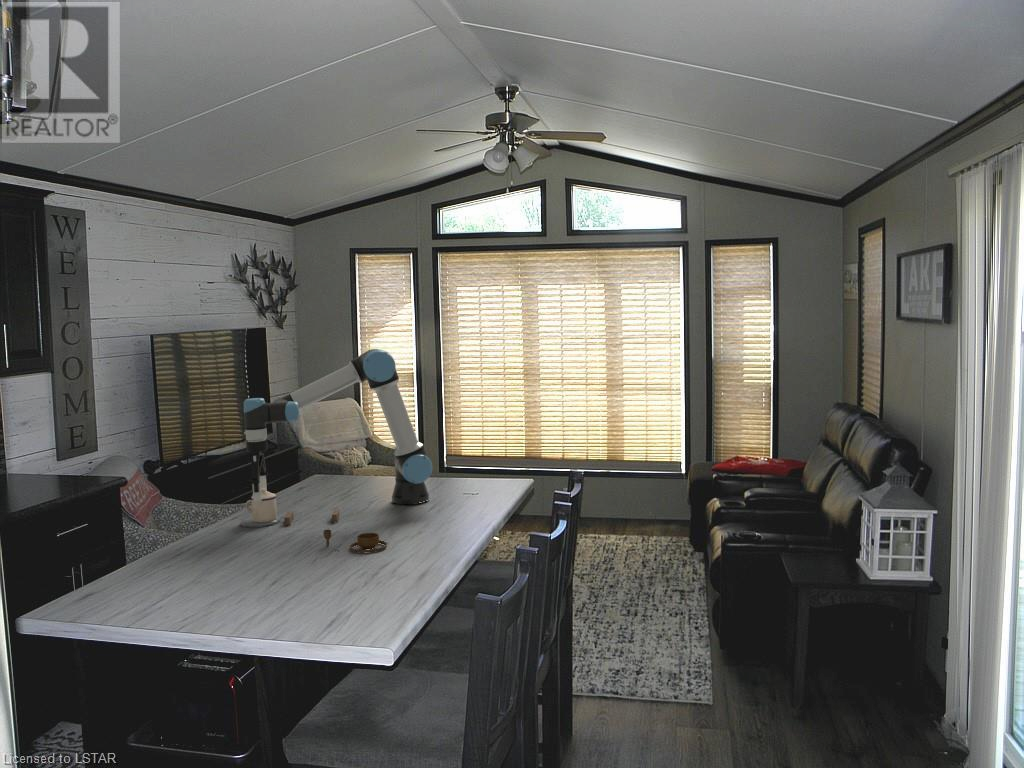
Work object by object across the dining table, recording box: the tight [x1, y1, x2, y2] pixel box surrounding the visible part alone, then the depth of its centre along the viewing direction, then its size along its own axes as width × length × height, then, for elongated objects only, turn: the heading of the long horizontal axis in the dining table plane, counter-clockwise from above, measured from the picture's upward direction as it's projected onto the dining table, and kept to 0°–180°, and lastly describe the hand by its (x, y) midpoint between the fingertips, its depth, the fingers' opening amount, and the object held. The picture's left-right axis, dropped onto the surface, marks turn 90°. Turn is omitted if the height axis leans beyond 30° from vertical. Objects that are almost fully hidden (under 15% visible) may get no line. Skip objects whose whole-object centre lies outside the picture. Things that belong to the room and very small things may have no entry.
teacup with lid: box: [245, 489, 278, 522], centre depth 310 cm, size 12×9×12 cm
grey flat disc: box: [240, 516, 281, 528], centre depth 310 cm, size 14×14×1 cm
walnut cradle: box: [284, 507, 340, 526], centre depth 311 cm, size 19×10×3 cm, turn 98°
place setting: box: [323, 529, 388, 554], centre depth 275 cm, size 18×20×6 cm
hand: (260, 496), depth 309 cm, fingers open, 13 cm apart
